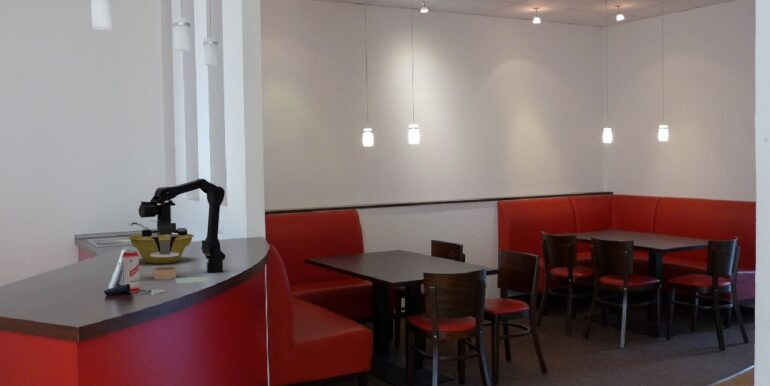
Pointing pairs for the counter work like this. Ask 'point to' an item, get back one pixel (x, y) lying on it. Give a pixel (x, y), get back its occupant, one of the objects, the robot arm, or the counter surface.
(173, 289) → the counter surface
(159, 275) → the bowl
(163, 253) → the lid
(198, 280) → the mat
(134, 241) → the planter bowl
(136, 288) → the beer can
